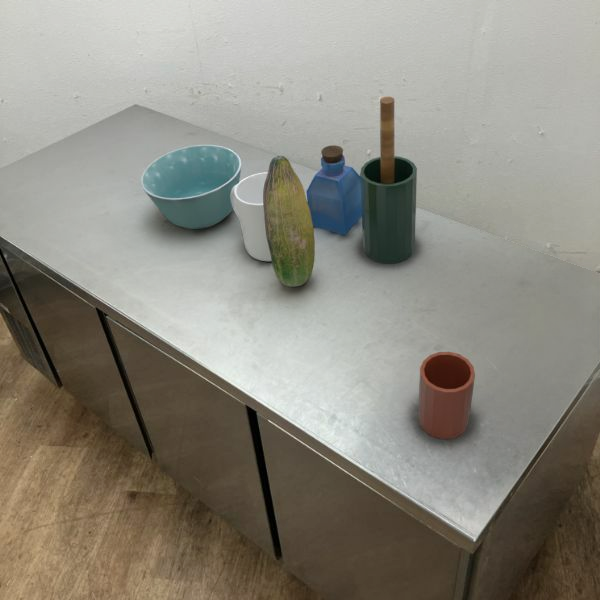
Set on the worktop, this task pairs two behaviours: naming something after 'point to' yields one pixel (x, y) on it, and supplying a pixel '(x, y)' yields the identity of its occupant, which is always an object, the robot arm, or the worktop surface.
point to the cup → (388, 211)
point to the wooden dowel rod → (387, 140)
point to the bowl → (193, 184)
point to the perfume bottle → (335, 193)
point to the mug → (252, 214)
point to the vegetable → (288, 224)
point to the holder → (445, 394)
